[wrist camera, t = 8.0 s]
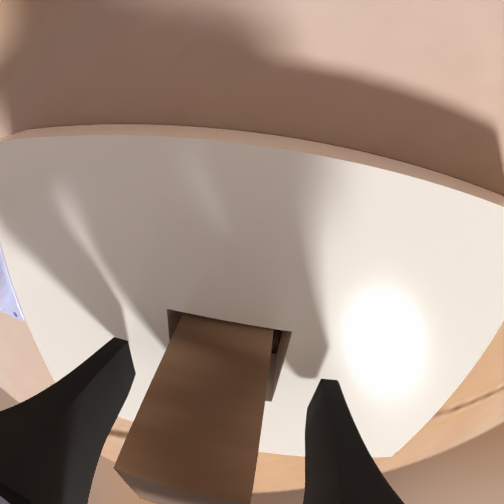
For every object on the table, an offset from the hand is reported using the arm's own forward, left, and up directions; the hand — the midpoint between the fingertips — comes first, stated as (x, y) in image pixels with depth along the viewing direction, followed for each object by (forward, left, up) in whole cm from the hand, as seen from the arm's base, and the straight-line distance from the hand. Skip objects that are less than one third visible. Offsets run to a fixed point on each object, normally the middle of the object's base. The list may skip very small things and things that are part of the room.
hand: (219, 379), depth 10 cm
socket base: (0, 0, -4) cm, 4 cm away
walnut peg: (0, 0, -4) cm, 4 cm away
